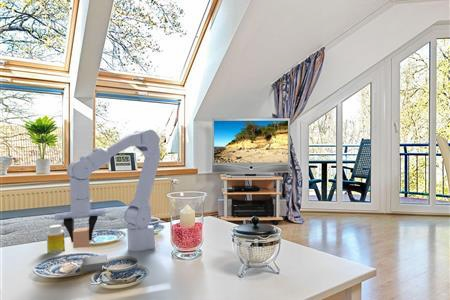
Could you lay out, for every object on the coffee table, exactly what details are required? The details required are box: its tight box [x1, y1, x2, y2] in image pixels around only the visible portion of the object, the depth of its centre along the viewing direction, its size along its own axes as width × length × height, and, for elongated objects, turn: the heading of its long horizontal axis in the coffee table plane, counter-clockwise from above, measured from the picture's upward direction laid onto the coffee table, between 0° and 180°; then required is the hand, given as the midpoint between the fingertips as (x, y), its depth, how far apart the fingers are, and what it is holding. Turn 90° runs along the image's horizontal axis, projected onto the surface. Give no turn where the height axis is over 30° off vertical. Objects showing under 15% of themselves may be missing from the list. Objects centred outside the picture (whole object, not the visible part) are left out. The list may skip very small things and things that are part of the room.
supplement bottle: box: [46, 224, 66, 254], centre depth 114 cm, size 6×6×10 cm
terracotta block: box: [72, 226, 91, 249], centre depth 102 cm, size 4×4×5 cm
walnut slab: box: [78, 264, 103, 275], centre depth 98 cm, size 8×8×2 cm
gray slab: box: [81, 254, 108, 272], centre depth 98 cm, size 7×7×2 cm
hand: (81, 240), depth 102 cm, fingers closed on terracotta block, 4 cm apart
